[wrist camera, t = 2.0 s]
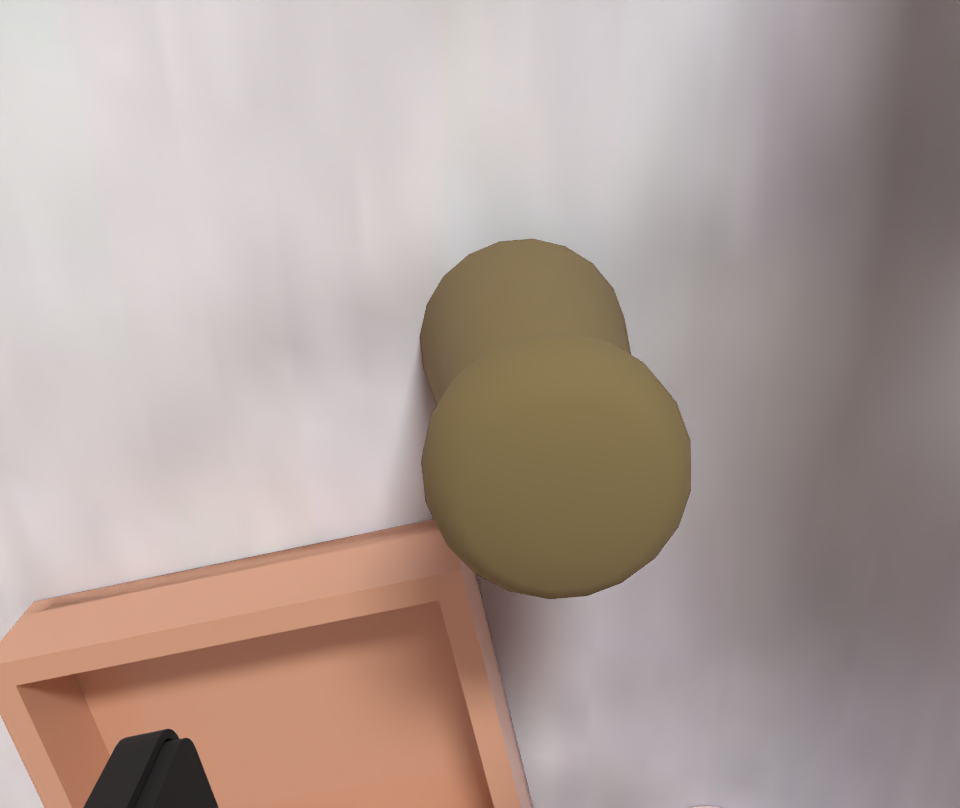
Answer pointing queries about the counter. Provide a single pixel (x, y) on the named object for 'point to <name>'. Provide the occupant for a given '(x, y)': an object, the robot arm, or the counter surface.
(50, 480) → the counter surface
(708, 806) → the smoothie
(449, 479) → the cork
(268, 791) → the terracotta tray
